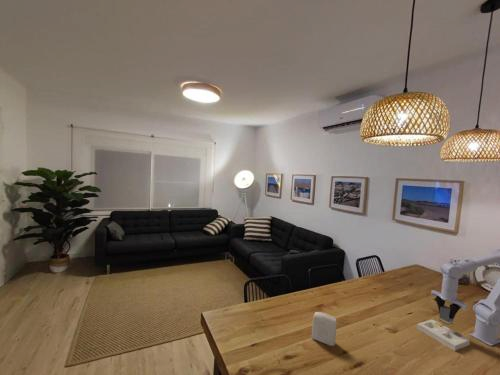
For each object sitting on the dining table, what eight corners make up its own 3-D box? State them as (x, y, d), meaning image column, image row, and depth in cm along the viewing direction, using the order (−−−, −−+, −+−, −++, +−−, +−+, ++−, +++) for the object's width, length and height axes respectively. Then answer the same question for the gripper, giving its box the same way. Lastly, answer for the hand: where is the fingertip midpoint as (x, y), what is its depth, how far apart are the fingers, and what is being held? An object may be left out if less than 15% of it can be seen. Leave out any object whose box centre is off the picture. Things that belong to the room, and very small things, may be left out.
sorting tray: (431, 323, 124) (432, 318, 123) (469, 344, 109) (470, 338, 109) (417, 328, 119) (417, 322, 119) (454, 351, 104) (455, 344, 104)
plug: (443, 318, 118) (445, 305, 118) (453, 323, 115) (454, 309, 114) (438, 320, 117) (440, 306, 116) (448, 325, 113) (449, 311, 113)
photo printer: (335, 342, 105) (338, 315, 104) (334, 348, 101) (336, 320, 101) (312, 333, 110) (314, 308, 109) (310, 338, 106) (312, 312, 106)
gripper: (428, 282, 120) (425, 308, 121) (462, 297, 106) (459, 326, 107) (437, 281, 123) (434, 306, 123) (471, 295, 109) (468, 323, 110)
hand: (446, 315), depth 115 cm, fingers closed on plug, 4 cm apart
